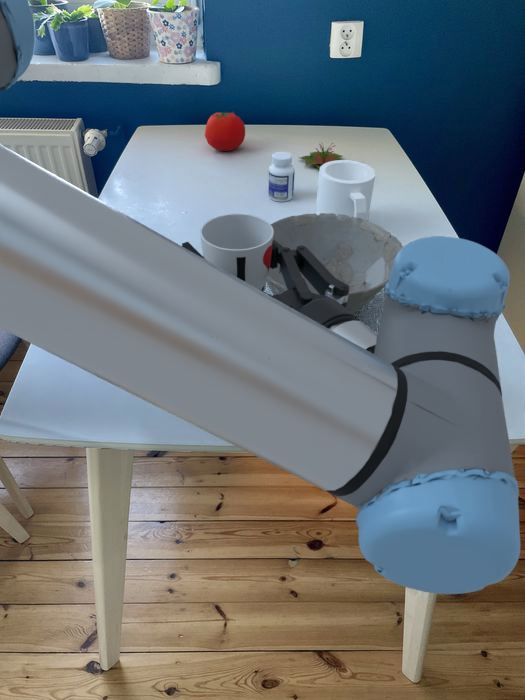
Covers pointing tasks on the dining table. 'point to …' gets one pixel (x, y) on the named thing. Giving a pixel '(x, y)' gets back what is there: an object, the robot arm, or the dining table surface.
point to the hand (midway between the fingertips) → (216, 243)
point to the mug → (345, 188)
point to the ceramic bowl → (340, 252)
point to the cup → (239, 246)
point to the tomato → (225, 131)
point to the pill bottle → (281, 177)
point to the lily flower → (321, 157)
